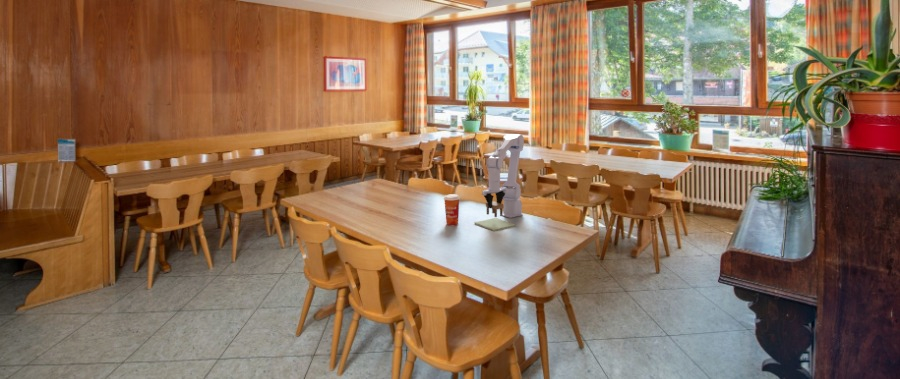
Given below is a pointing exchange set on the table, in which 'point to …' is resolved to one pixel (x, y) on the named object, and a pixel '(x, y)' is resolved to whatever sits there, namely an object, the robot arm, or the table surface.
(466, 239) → the table surface
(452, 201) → the coffee cup
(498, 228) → the mat
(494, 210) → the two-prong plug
